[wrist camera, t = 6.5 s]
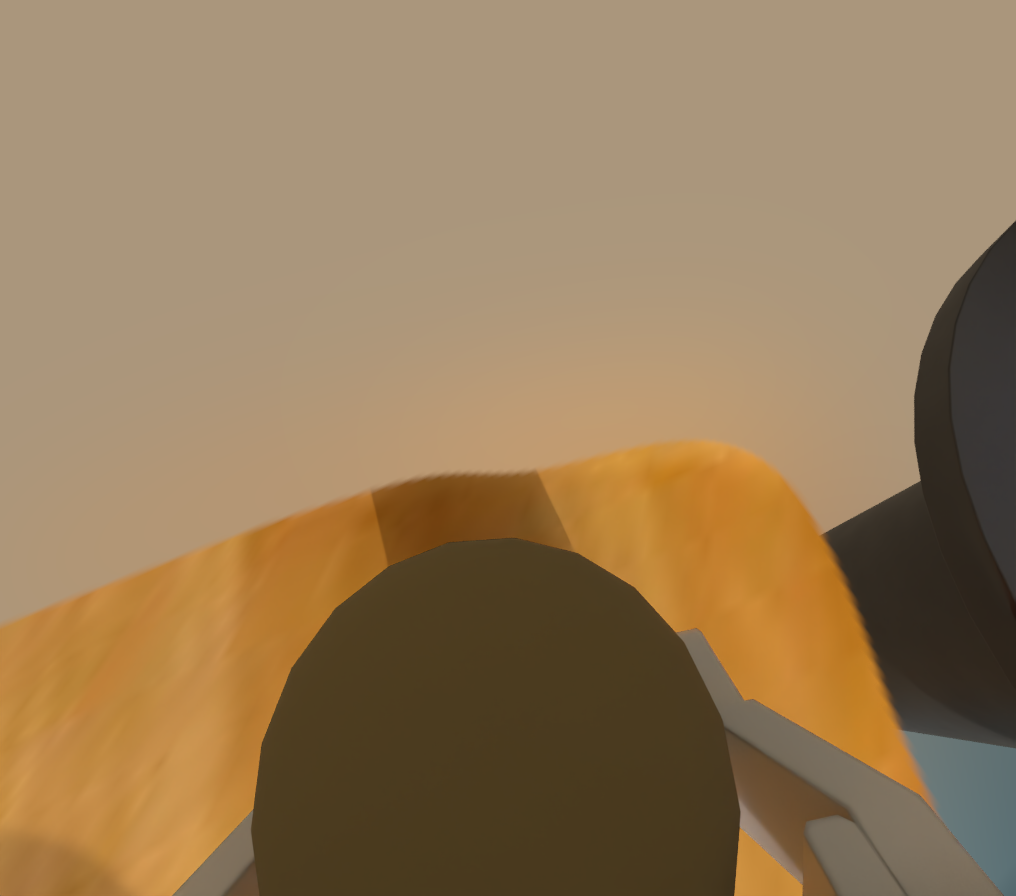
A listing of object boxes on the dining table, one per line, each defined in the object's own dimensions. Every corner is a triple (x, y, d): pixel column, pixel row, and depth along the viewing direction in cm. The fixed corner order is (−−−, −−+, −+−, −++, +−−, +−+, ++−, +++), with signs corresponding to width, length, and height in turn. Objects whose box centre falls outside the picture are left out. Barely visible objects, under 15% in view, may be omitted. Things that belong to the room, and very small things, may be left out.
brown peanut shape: (688, 704, 14) (1003, 774, 4) (545, 907, 13) (492, 1782, 3) (523, 560, 16) (465, 370, 6) (383, 720, 15) (5, 814, 5)
